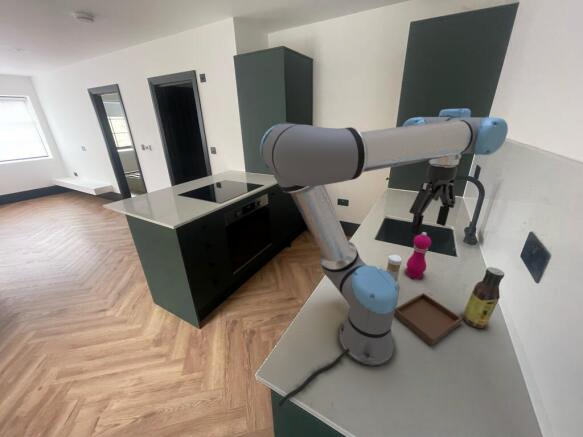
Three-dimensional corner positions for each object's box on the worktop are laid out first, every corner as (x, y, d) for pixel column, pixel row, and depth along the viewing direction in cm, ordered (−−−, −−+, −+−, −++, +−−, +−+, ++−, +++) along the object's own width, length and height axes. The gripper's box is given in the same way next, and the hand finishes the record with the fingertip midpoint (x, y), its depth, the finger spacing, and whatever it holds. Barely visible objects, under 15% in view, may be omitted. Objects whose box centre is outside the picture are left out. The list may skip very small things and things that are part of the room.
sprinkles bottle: (390, 281, 93) (395, 253, 88) (398, 288, 89) (405, 259, 84) (380, 283, 92) (386, 255, 86) (389, 291, 88) (395, 262, 82)
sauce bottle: (479, 332, 71) (502, 281, 63) (458, 318, 76) (477, 268, 68) (490, 324, 74) (514, 273, 65) (469, 310, 79) (488, 262, 71)
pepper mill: (426, 280, 93) (438, 237, 85) (407, 278, 94) (417, 235, 86) (420, 269, 100) (431, 228, 91) (402, 268, 101) (412, 227, 93)
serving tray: (431, 346, 67) (433, 339, 66) (393, 314, 78) (394, 308, 76) (460, 324, 74) (462, 318, 72) (421, 298, 84) (423, 292, 83)
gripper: (428, 171, 61) (414, 241, 69) (479, 163, 72) (461, 225, 80) (404, 167, 67) (393, 232, 75) (454, 160, 78) (439, 217, 86)
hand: (428, 228), depth 78 cm, fingers open, 13 cm apart
